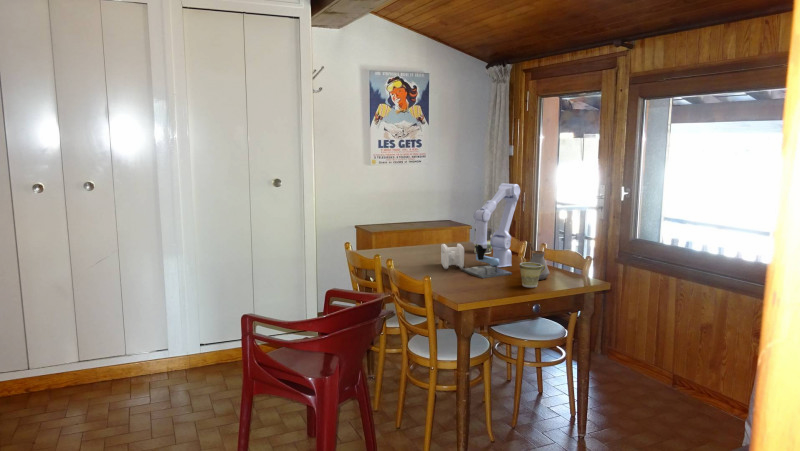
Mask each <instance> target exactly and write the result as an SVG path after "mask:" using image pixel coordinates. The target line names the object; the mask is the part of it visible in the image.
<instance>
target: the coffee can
mask: <svg viewBox="0 0 800 451" xmlns="http://www.w3.org/2000/svg"><path fill="white" fill-rule="evenodd" d="M492 236H493V229H492V228H488V227H487V249H486V251H485V254H484V255H489V254H492V246H491V245H490V240H491V238H492ZM475 240H476V228H474V241H475ZM473 245H474V249H473V253H474V254H477V251H476V248H475V246H478V244H474V243H473Z"/></svg>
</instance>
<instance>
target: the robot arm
mask: <svg viewBox="0 0 800 451" xmlns="http://www.w3.org/2000/svg"><path fill="white" fill-rule="evenodd" d="M497 189H498V190H497V192H495V195H494V196H493V197H492V199H488V200H486V201H485V203H484V204H483V205H482V207H481V208H480V209H477V210H475V211H474V214H473V219H474V224H475V229H476V240H475V239H474V241H472V243H473V245H474V244H478V246H475V248H476V251H477V253H476V254H477V256H478V260H483V257H484V255H486V254H485V251H486V249H487V228H488V222H489V221H490V219H491V216H492V213H494V211H495V210H496V209H497V205H498V203H500V201H501V200H504V201H505V206H504V209H503V212H502V216H501V219H500V222H499V227H498V230H496V231H494V232H493V233H492V238H491V240H490V245H491V250H492V252H493V253H492V258H498V259H499V265H498V266H497V268H506V267H512V266H513V265H512V251H511V249H510V247H511V243H512V242H511V241H512V235H511V234H510V233H509V230H510V227H511V225H512V220H513V216H514V213H515V210H516V207H517V204H518V201H519V197H520V194H521V188H520V185H519V184H517V183H504V182H502V183H500V185H499V186H498V188H497ZM478 260H477V261H478ZM488 265H490V266H493V265H492V264H488Z"/></svg>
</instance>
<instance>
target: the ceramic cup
mask: <svg viewBox="0 0 800 451" xmlns="http://www.w3.org/2000/svg"><path fill="white" fill-rule="evenodd" d="M542 266H544V265H541V264H539V263H533V262H530V261H528V262H525V261H524V262H520V263H519V270H520V278H521V284H522V287H525V288H531V289H532V288H537V287H538V283H539V275H540V274H541V273H542V272H543V271H544V270H545V266H544V269H543V270H542V271H541V269H542Z"/></svg>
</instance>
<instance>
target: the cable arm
mask: <svg viewBox="0 0 800 451" xmlns="http://www.w3.org/2000/svg"><path fill="white" fill-rule="evenodd" d="M475 261H479V262H480V263H481V262H482V263H486V264H488V265H489V264H492V265H494V266H498V265H499V259H498V258H493V256H488V255H486V254H484V257H483V260H478V256H477V253H475ZM492 265H491V266H492Z"/></svg>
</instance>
